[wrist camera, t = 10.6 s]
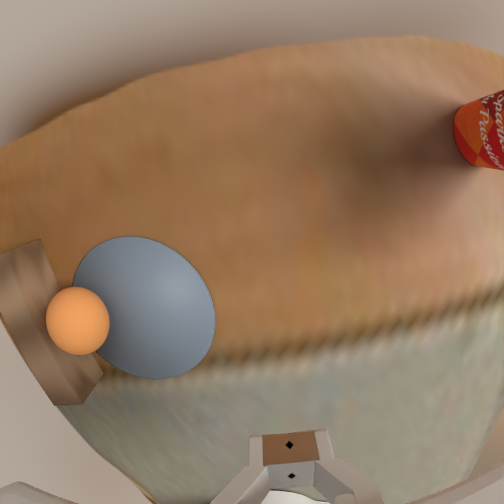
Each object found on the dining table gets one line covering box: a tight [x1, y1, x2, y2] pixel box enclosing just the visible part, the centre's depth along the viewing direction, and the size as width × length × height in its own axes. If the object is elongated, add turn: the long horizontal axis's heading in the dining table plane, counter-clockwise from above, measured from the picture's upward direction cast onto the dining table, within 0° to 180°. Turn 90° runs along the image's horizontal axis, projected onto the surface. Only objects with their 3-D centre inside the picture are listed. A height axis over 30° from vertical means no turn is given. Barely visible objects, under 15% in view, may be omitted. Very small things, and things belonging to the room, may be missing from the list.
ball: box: [46, 287, 110, 355], centre depth 21 cm, size 6×6×6 cm
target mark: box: [73, 236, 215, 379], centre depth 24 cm, size 13×13×1 cm
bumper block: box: [0, 239, 104, 406], centre depth 22 cm, size 14×4×5 cm, turn 18°
